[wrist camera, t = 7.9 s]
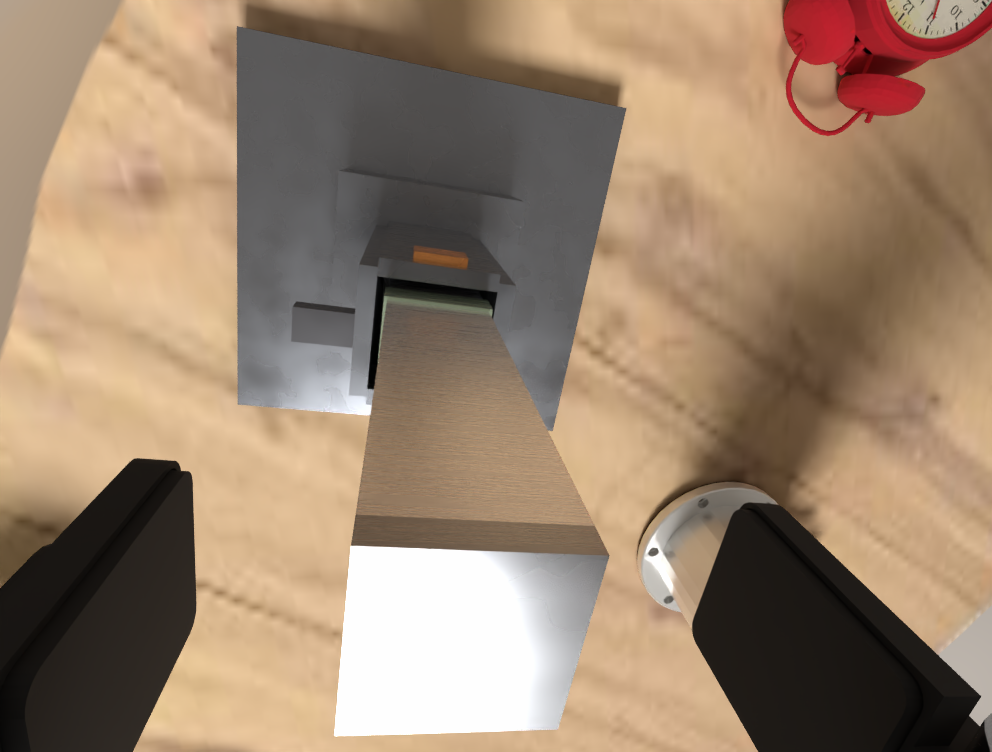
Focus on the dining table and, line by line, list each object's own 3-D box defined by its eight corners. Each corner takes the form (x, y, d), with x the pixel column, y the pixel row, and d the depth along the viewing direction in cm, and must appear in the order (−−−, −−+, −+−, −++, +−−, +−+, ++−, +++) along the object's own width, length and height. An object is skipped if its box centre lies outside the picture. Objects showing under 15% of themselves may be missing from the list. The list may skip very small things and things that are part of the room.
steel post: (474, 275, 22) (618, 549, 7) (462, 353, 23) (563, 733, 8) (389, 263, 21) (342, 537, 6) (381, 345, 23) (325, 740, 7)
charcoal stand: (616, 110, 31) (787, 77, 17) (547, 420, 38) (628, 578, 24) (245, 32, 27) (71, -93, 13) (244, 394, 35) (130, 564, 20)
